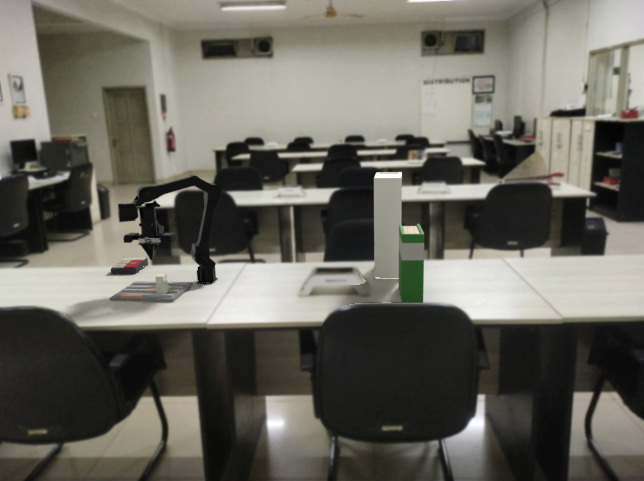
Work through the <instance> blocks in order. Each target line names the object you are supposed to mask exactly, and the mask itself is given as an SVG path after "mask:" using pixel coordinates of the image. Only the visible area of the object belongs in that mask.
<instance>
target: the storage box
mask: <svg viewBox="0 0 644 481" xmlns="http://www.w3.org/2000/svg"><path fill="white" fill-rule="evenodd" d="M402 176H403V173H402V171H396V172H395V171H390V172H389V171H388V172H387V171H386V172H385V171H382V172H381V171H379V172H378V171H377V172H376V173H375V175H374V177H373V232H374V233H373V235H374V236H373V242H374V243H373V244H374V245H373V248H374V249H373V252H374V254H373V256H374V257H373V258H374V261H373V262H374V268H373V269H374V271H373V274H374V277H380V278H399V224H402V211H403V210H402V207H403V206H402V192H403V191H402V188H403V186H402V184H403V183H402V181H403V177H402Z"/></svg>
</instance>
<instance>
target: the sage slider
mask: <svg viewBox="0 0 644 481" xmlns="http://www.w3.org/2000/svg"><path fill="white" fill-rule="evenodd" d="M168 282H169V281H168V280H167V281H159V282H158V283H156V294H166V293H167V292H168Z"/></svg>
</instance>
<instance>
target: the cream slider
mask: <svg viewBox="0 0 644 481" xmlns="http://www.w3.org/2000/svg"><path fill="white" fill-rule="evenodd" d="M154 279H155V282H156V283H158V282H159V281H167V282H168V274H167V273H158V274H157V275H155V278H154Z"/></svg>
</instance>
